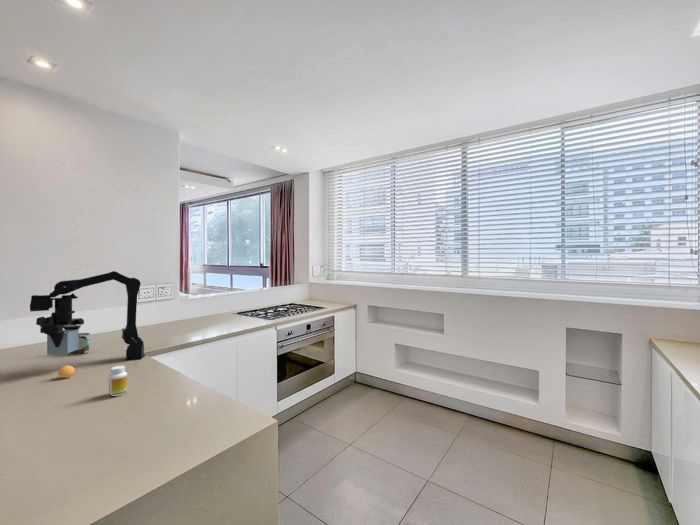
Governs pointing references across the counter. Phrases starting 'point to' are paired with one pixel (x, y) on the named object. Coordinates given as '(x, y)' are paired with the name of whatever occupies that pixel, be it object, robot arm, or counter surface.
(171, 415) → the counter surface
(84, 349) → the food container
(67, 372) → the ball
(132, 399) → the counter surface
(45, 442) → the counter surface
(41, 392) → the counter surface
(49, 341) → the pale blue-grey cube
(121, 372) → the supplement bottle
